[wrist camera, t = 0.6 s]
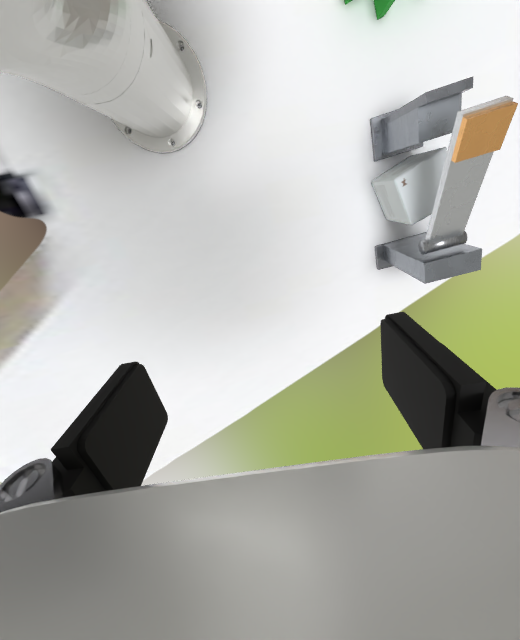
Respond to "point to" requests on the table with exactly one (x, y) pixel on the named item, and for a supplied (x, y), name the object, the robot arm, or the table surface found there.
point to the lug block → (418, 120)
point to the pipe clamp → (379, 6)
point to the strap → (466, 170)
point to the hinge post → (428, 259)
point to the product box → (411, 187)
